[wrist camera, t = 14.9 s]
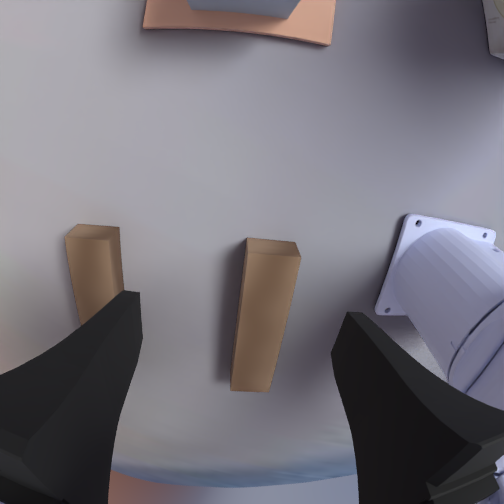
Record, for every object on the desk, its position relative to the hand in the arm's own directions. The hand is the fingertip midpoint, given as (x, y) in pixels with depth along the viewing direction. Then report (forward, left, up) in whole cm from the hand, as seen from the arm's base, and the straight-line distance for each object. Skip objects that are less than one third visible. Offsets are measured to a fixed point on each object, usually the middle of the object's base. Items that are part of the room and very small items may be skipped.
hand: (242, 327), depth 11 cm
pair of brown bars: (+3, +7, -9) cm, 12 cm away
